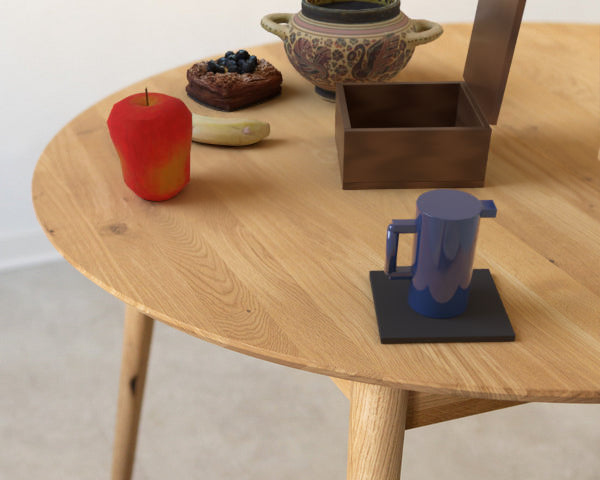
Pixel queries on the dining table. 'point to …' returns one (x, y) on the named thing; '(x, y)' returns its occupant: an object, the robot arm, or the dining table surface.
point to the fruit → (228, 130)
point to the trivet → (420, 329)
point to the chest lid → (492, 52)
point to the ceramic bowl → (349, 40)
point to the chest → (410, 135)
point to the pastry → (233, 82)
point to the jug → (439, 251)
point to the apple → (152, 143)
